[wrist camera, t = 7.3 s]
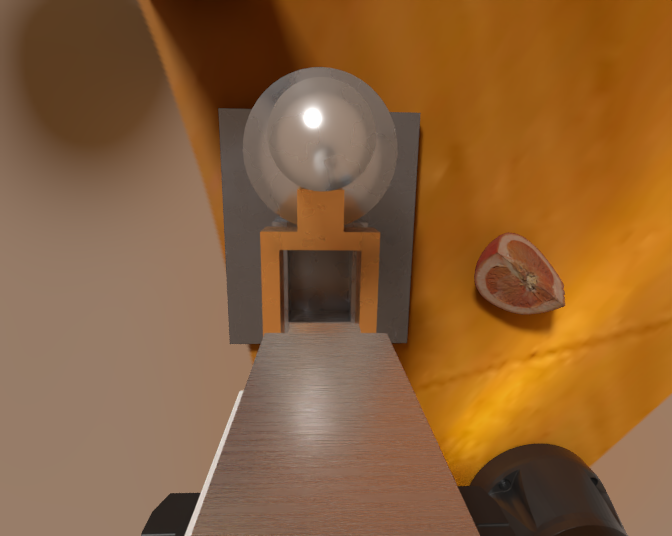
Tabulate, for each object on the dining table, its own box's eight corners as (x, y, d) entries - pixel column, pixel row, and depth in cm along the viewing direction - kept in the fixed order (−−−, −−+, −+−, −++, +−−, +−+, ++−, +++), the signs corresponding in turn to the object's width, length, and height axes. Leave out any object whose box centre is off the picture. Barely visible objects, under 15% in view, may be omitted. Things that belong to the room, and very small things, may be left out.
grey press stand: (403, 336, 38) (475, 465, 21) (233, 337, 38) (158, 472, 20) (416, 104, 34) (523, 15, 16) (222, 99, 33) (111, 1, 15)
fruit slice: (555, 267, 38) (591, 280, 33) (510, 319, 39) (537, 338, 34) (494, 216, 36) (521, 221, 31) (448, 271, 37) (468, 284, 32)
